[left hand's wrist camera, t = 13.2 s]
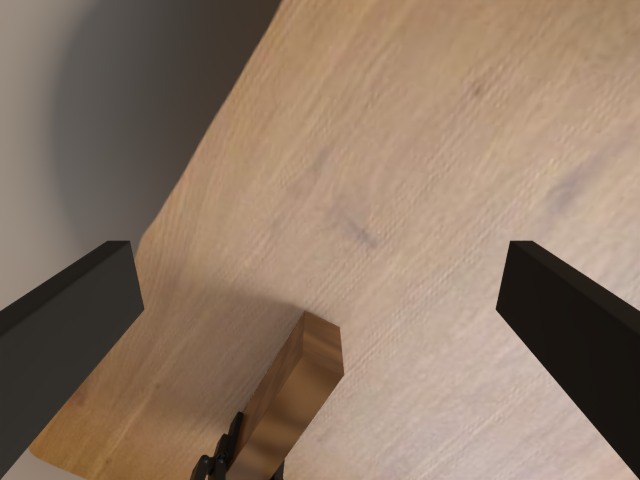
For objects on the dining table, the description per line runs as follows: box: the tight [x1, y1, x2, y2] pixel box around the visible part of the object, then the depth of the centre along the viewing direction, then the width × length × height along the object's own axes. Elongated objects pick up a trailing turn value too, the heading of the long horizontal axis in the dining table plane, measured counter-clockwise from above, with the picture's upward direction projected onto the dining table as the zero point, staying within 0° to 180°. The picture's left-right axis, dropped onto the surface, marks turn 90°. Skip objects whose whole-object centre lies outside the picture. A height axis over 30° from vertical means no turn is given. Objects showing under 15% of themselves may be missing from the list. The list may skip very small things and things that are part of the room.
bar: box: [226, 311, 344, 480], centre depth 44 cm, size 24×5×9 cm, turn 151°
